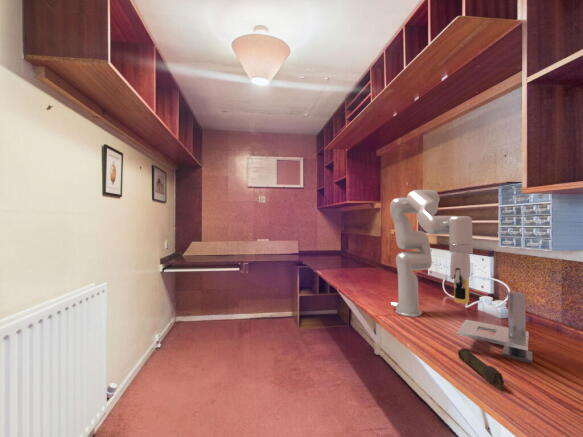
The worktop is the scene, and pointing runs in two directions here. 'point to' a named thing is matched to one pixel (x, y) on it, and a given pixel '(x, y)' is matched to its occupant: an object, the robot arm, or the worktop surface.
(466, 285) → the yellow block
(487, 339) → the gray plate with post
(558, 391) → the worktop surface
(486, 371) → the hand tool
